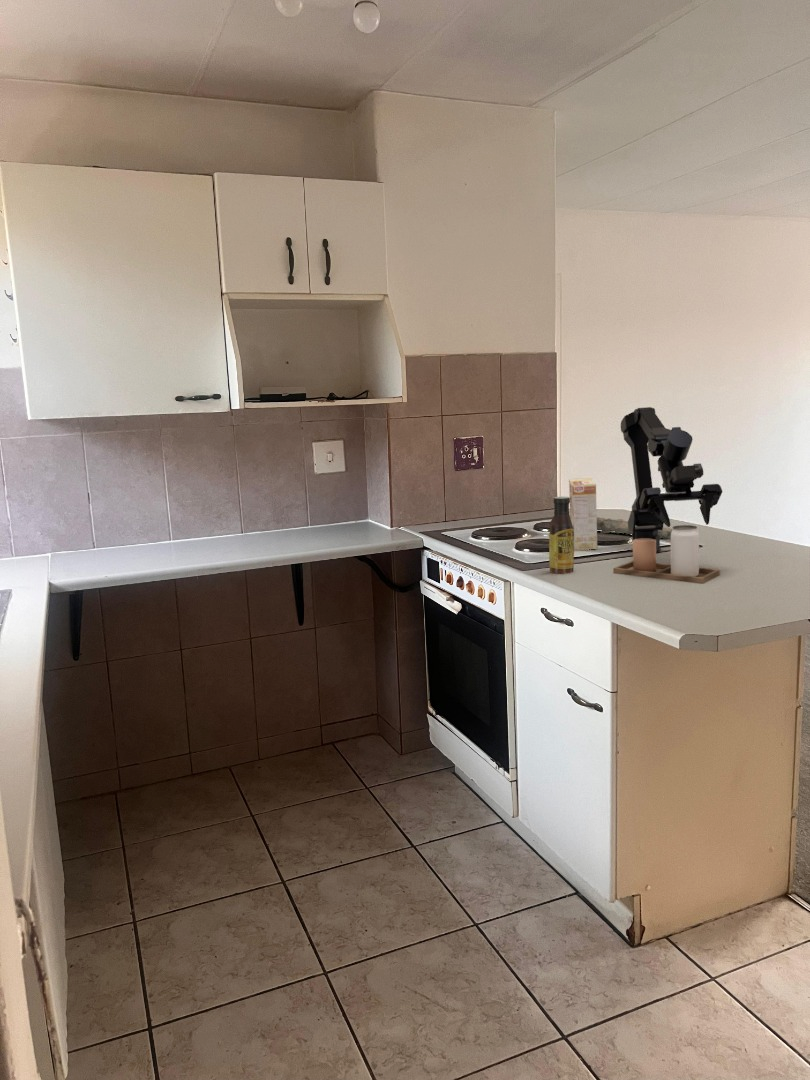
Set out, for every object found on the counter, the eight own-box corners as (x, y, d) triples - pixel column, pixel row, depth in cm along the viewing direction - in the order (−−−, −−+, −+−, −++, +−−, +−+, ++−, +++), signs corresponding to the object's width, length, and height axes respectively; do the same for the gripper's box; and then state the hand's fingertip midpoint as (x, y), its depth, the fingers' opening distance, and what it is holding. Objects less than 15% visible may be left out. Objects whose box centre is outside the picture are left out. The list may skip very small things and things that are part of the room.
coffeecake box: (570, 541, 251) (568, 478, 248) (593, 540, 250) (592, 477, 247) (573, 550, 237) (571, 484, 233) (598, 550, 236) (596, 483, 232)
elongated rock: (665, 546, 243) (683, 542, 249) (666, 529, 242) (685, 525, 248) (572, 529, 269) (590, 526, 275) (573, 514, 268) (591, 511, 274)
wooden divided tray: (613, 575, 204) (613, 568, 204) (632, 567, 211) (632, 560, 211) (702, 586, 189) (702, 578, 188) (720, 577, 196) (720, 569, 195)
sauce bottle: (559, 577, 206) (557, 499, 202) (544, 573, 211) (542, 497, 208) (580, 573, 209) (578, 496, 205) (564, 569, 214) (562, 494, 211)
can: (701, 573, 198) (701, 525, 196) (695, 579, 192) (695, 529, 190) (674, 571, 201) (674, 524, 199) (667, 577, 196) (667, 528, 194)
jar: (629, 572, 204) (628, 541, 202) (639, 568, 208) (639, 537, 206) (649, 575, 200) (649, 543, 198) (660, 570, 204) (660, 539, 202)
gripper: (642, 455, 195) (656, 506, 186) (719, 450, 195) (737, 502, 186) (633, 483, 204) (646, 534, 196) (707, 479, 204) (724, 529, 195)
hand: (688, 524), depth 193 cm, fingers open, 9 cm apart
